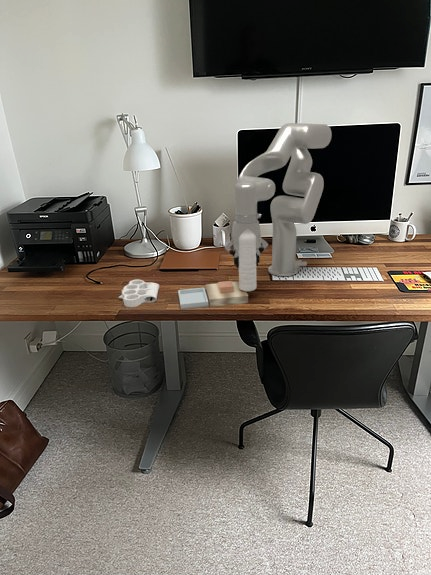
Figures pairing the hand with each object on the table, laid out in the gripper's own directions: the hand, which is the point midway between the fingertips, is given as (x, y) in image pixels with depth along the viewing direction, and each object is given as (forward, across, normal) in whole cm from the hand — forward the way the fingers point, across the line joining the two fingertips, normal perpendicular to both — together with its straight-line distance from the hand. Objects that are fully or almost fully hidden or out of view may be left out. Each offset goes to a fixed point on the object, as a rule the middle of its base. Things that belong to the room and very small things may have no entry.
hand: (246, 265), depth 164 cm
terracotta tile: (+9, +8, 0) cm, 12 cm away
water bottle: (+9, 0, 0) cm, 9 cm away
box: (+12, +20, 0) cm, 24 cm away
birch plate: (+12, +8, 0) cm, 15 cm away
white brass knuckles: (+13, +40, -9) cm, 43 cm away
